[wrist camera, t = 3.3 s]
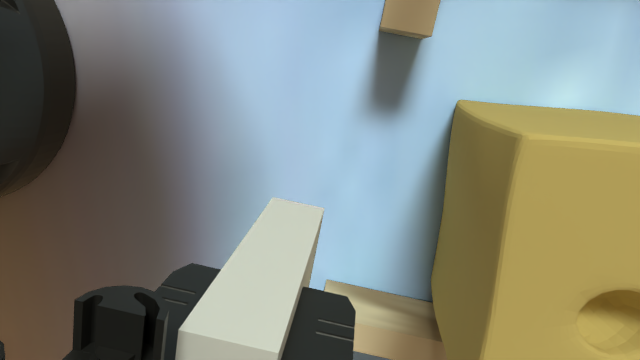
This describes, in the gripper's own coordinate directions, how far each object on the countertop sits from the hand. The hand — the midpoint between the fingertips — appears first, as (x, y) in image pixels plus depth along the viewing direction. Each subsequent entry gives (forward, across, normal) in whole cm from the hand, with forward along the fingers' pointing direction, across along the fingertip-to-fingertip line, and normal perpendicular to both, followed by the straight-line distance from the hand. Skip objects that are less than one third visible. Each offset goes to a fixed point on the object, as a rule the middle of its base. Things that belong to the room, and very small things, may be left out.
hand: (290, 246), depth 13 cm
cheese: (+11, +11, 0) cm, 15 cm away
